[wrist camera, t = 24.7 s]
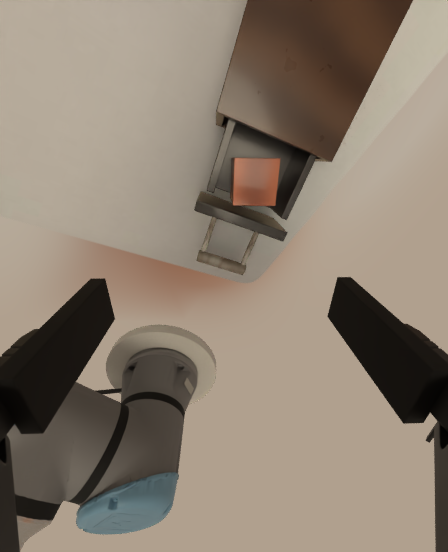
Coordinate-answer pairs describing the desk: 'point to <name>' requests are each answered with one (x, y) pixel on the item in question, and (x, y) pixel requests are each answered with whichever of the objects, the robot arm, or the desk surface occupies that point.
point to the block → (254, 181)
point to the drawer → (290, 182)
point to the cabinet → (307, 67)
